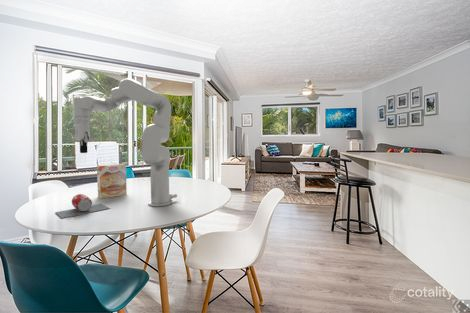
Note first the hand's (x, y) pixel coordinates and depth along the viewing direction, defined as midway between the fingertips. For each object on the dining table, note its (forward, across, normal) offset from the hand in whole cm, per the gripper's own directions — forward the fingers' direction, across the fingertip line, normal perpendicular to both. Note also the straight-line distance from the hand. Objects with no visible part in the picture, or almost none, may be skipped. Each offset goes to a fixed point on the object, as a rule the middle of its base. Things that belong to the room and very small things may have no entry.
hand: (83, 152), depth 131 cm
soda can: (+23, +14, -7) cm, 28 cm away
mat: (+27, +21, -7) cm, 35 cm away
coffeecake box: (+28, -1, +15) cm, 31 cm away
